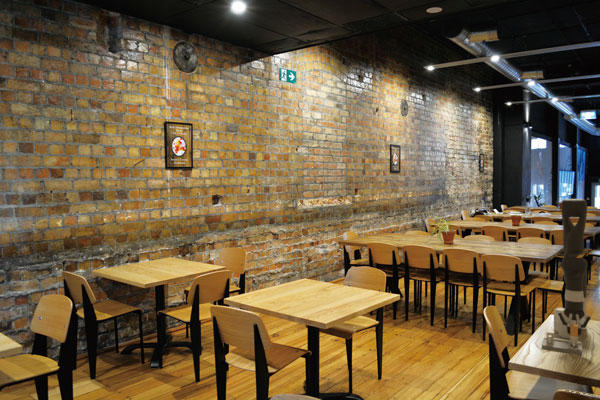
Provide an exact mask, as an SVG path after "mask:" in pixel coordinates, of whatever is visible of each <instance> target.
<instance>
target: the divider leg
mask: <svg viewBox="0 0 600 400" xmlns="http://www.w3.org/2000/svg"><path fill="white" fill-rule="evenodd" d="M569 341H570V345H572V346H573V348H575V346H578V342H579V336H578V325H575V324H571V325H570V339H569Z"/></svg>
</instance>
